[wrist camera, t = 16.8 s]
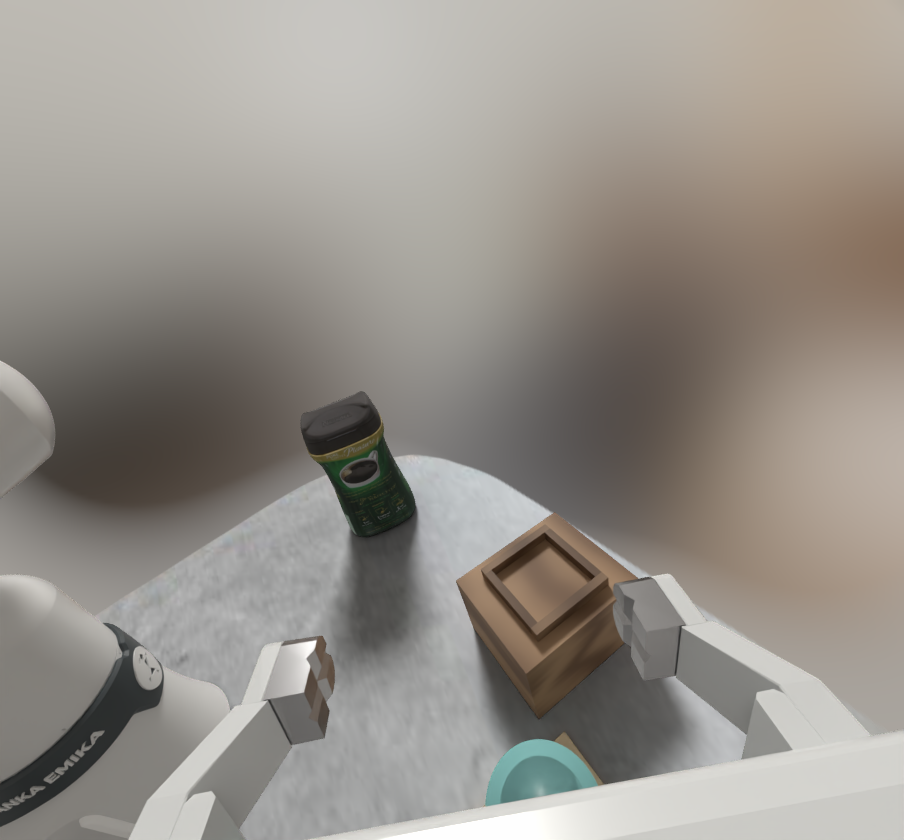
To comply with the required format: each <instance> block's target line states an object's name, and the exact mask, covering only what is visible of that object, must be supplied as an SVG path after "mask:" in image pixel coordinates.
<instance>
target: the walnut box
mask: <svg viewBox="0 0 904 840" xmlns="http://www.w3.org/2000/svg"><path fill="white" fill-rule="evenodd" d="M635 579H638V578H637V577H636V576H635V575H633V574H632V573H631V572H630V571H628V570H627V569H626V568H625V567H623V566H622V565H621V564H619V563H618V562H617V561H616V560H614V559H613V558H612V557H611V556H609V555H608V554H607V553H606V552H604V551H603V550H602V549H601V548H599V547H598V546H597V545H595V544H594V543H593V542H592V541H590V540H589V539H588V538H587V537H585V536H584V535H583V534H582V533H580V532H579V531H578V530H577V529H575V528H574V527H573V526H571V525H570V524H569V523H568V522H566V521H565V520H564V519H563V518H561V517H560V516H559V515H558V514H556V513H555V512H554V513H553V514H551V515H550V516H549V517H547V518H546V519H544V520H543V521H541V522H540V523H538V524H537V525H536V526H534V527H533V528H531V529H530V530H528V531H527V532H526V533H524V534H523V535H521V536H520V537H518V538H517V539H515V540H514V541H513V542H511V543H510V544H508V545H507V546H505V547H504V548H503V549H501V550H500V551H498V552H497V553H495V554H494V555H492V556H491V557H490V558H488V559H487V560H485V561H484V562H482V563H481V564H480V565H478V566H477V567H475V568H474V569H472V570H471V571H469V572H468V573H467V574H465V575H464V576H462V577H461V578H459V579H458V580H457V581H456V583H457V585H458V588H459V590H460V593H461V596H462V598H463V601H464V604H465V606H466V609H467V612H468V614H469V617H470V620H471V622H472V625H473V628H474V629H475V630H476V632H477V633H478V635H479V636H480V638H481V639H482V640H483V642H484V643H485V645H486V646H487V647H488V649H489V650H490V652H491V653H492V654H493V656H494V657H495V659H496V660H497V661H498V663H499V664H500V666H501V667H502V668H503V670H504V671H505V673H506V674H507V675H508V677H509V678H510V680H511V681H512V682H513V684H514V685H515V687H516V688H517V689H518V691H519V692H520V694H521V695H522V696H523V698H524V699H525V701H526V702H527V703H528V705H529V706H530V708H531V709H532V711H533V712H534V713H535V715H536V716H537V718H538V719H540V718H541V717H542V716H543V715H544V714H546V713H547V712H548V711H549V710H550V709H551V708H552V707H553V706H555V705H556V704H557V703H558V702H559V701H560V700H561V699H562V698H564V697H565V696H566V695H567V694H568V693H569V692H570V691H571V690H573V689H574V688H575V687H576V686H577V685H578V684H579V683H580V682H582V681H583V680H584V679H585V678H586V677H587V676H588V675H589V674H590V673H592V672H593V671H594V670H595V669H596V668H597V667H598V666H599V665H601V664H602V663H603V662H604V661H605V660H606V659H607V658H608V657H610V656H611V655H612V654H613V653H614V652H615V651H616V650H617V649H619V648H620V647H621V646H622V645H623V644H624V642H623V641H622V639H621V637H620V635H619V632H618V630H617V627H616V625H615V620H614V616H613V605H614V603H615V602H616V601H617V600H616V598H615V596H614V594H613V586H614V584H615V583H619V582H624V581H629V580H635Z"/></svg>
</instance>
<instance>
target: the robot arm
mask: <svg viewBox="0 0 904 840" xmlns="http://www.w3.org/2000/svg"><path fill="white" fill-rule="evenodd" d="M54 442H55V426H54V421H53V417H52V414H51V411H50V409H49V407H48V404H47V403H46V401H45V399H44V398H43V397H42V395H41V393H40V392H39V391H38V390H37V388H36V387H35V386H34V385H33V384H32V383H31V382H30V381H29V380H28V379H27V378H26V377H24V376H23V375H22V374H21V373H19V372H18V371H16V370H15V369H14V368H12V367H11V366H9V365H7V364H5V363H4V362H2V361H0V499H1V498H3V496H5V495H6V494H7V493H8V492H10V491H11V490H12V489H13V488H14V487H16V486H17V485H18V484H19V483H20V482H22V481H23V480H24V479H25V478H26V477H27V476H28V475H30V474H31V473H32V472H33V471H34V470H35V469H36V468H37V467H39V466H40V465H41V464H42V463H43V462H44V461H45V460H47V459H48V458H49V457H50V456H51V455H52V452H53V448H54ZM613 594H614V596H615V598H616V600H617V601H616V602H615V603H614V605H613V616H614V620H615V625H616V627H617V630H618V632H619V635H620V637H621V639H622V641H623V642H624V643H626V644H627V645H629V646H630V647H631V658H632V660H633V662H634V664H635V666H636V668H637V669H638V671H639V673H640V675H641V677H642V679H643V681H645V680H652V679H658V678H665V677H672V676H676V678H677V679H678V680H680V681H681V682H682V683H683V684H685V685H686V686H687V687H688V688H689V689H691V690H692V691H693V692H694V693H696V694H697V695H698V696H699V697H701V698H702V699H703V700H704V701H706V702H707V703H708V704H709V705H710V706H712V707H713V708H714V709H715V710H717V711H718V712H719V713H720V714H722V715H723V716H724V717H725V718H727V719H728V720H729V721H730V722H731V723H733V724H734V725H735V726H736V727H738V728H739V729H740V730H741V731H743V732H744V733H745V734H746V735H747V737H746V741H745V746H744V750H743V754H742V759H741V760H736V761H731V762H725V763H720V764H715V765H709V766H704V767H698V768H693V769H687V770H682V771H677V772H671V773H666V774H660V775H655V776H650V777H644V778H639V779H633V780H628V781H622V782H617V783H611V784H606V785H600V786H595V787H590V788H584V789H579V790H573V791H568V792H562V793H557V794H551V795H546V796H540V797H535V798H530V799H524V800H519V801H513V802H508V803H502V804H497V805H492V806H486V807H481V808H475V809H470V810H465V811H459V812H454V813H448V814H443V815H438V816H432V817H427V818H421V819H416V820H411V821H405V822H400V823H394V824H389V825H383V826H378V827H373V828H367V829H362V830H356V831H351V832H345V833H340V834H335V835H329V836H324V837H318V838H313V839H307V840H904V730H899V731H893V732H888V733H883V734H877V735H872V736H871V735H870V734H869V733H868V732H867V731H866V729H865V728H864V727H863V726H862V725H861V724H860V723H859V722H858V721H857V720H856V719H855V717H854V716H853V715H852V714H851V713H850V712H849V711H848V710H847V709H846V708H845V707H844V705H843V704H842V703H841V702H840V701H839V700H838V699H837V698H836V697H835V696H834V695H833V693H832V692H831V691H830V690H829V689H828V688H827V687H826V686H825V685H824V684H823V683H822V682H821V681H820V679H818V678H816V677H814V676H812V675H811V674H809V673H807V672H805V671H803V670H802V669H800V668H798V667H796V666H794V665H792V664H791V663H789V662H787V661H785V660H783V659H782V658H780V657H778V656H776V655H774V654H773V653H771V652H769V651H767V650H765V649H763V648H762V647H760V646H758V645H756V644H754V643H753V642H751V641H749V640H747V639H745V638H743V637H742V636H740V635H738V634H736V633H734V632H733V631H731V630H729V629H727V628H725V627H723V626H722V625H720V624H718V623H716V622H714V621H709V622H708V621H707V620H706V619H705V618H704V616H703V615H702V614H701V612H700V611H699V610H698V608H697V607H696V606H695V605H694V603H693V602H692V601H691V599H690V598H689V597H688V596H687V594H686V593H685V592H684V590H683V589H682V588H681V587H680V585H679V584H678V583H677V581H676V580H675V579H674V578H673V576H671V575H670V574H663V575H658V576H652V577H645V578H640V579H635V580H629V581H624V582H619V583H615V584H614V586H613ZM325 649H326V642H325V640H324V638H323V636H316V637H309V638H303V639H296V640H289V641H284V642H277V643H271V644H266V645H265V646H264V648H263V649H262V650H261V653H260V655H259V658H258V661H257V663H256V666H255V669H254V671H253V674H252V677H251V679H250V682H249V685H248V687H247V690H246V693H245V695H244V698H243V701H242V703H241V705H239V706H235V707H234V708H233V709H232V710H231V711H230V708H229V703H228V701H227V698H226V696H225V694H224V693H223V692H222V690H221V689H220V688H219V687H217V686H216V685H214V684H212V683H209V682H205V681H199V680H196V679H192V678H189V677H186V676H183V675H181V674H178V673H176V672H174V671H172V670H170V669H168V668H166V667H164V666H163V665H161V663H160V662H159V661H158V660H157V659H156V658H155V657H154V656H153V655H152V654H151V653H150V652H149V651H148V650H147V649H146V648H145V647H144V646H142V645H141V644H140V643H138V642H137V641H136V640H135V639H133V638H132V637H131V636H129V635H128V634H127V633H125V632H124V631H122V630H121V629H120V628H118V627H117V626H115V625H113V624H109V623H102V622H100V621H99V620H98V619H96V618H95V617H94V616H93V615H91V614H90V613H89V612H88V611H86V610H85V609H84V608H83V607H81V606H80V605H79V604H77V603H76V602H75V601H74V600H72V599H71V598H70V597H68V596H67V595H66V594H65V593H64V592H62V591H61V590H60V589H59V588H57V587H56V586H55V585H53V584H52V583H50V582H49V581H46V580H44V579H41V578H38V577H34V576H28V575H1V576H0V840H246V838H245V837H244V836H243V834H242V833H241V831H240V830H239V828H240V827H241V825H242V824H243V822H244V821H245V819H246V817H247V816H248V814H249V813H250V811H251V810H252V808H253V807H254V805H255V804H256V802H257V800H258V799H259V797H260V796H261V794H262V793H263V791H264V790H265V788H266V787H267V785H268V783H269V782H270V780H271V779H272V777H273V776H274V774H275V773H276V771H277V770H278V768H279V766H280V765H281V763H282V762H283V760H284V759H285V757H286V756H287V754H288V753H289V751H290V749H291V748H292V746H291V745H295V744H300V743H304V742H309V741H314V740H318V739H323V738H325V733H326V728H327V722H328V717H329V708H328V706H327V703H326V702H327V700H328V699H329V698H330V696H331V695H332V694H333V689H334V683H335V670H334V664H333V660H332V657H331V655H329V654H328V653H326V652H325Z"/></svg>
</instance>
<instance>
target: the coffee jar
mask: <svg viewBox="0 0 904 840" xmlns="http://www.w3.org/2000/svg"><path fill="white" fill-rule="evenodd" d="M301 431H302V435H303V438H304V441H305V444H306V446H307V450H308V452H309V454H310V455H311V457H312V458H313V459H314V460H315V461H316V462H317V463H319V464H320V465H321V466H322V467H323V469H324V470H325V472H326V473H327V475H328V477H329V479H330V481H331V483H332V485H333V487H334V490H335V492H336V494H337V497H338V499H339V502H340V504H341V507H342V510H343V512H344V514H345V517H346V519H347V521H348V523H349V525H350V527H351V529H352V531H353V532H354V533H355V534H356V535H358V536H362V537H367V536H372V535H375V534H378V533H380V532H383V531H385V530H388V529H390V528H392V527H394V526H396V525H398V524H400V523H402V522H404V521H405V520H407V519H408V518H409V517H410V516H411V515H412V513H413V512H414V509H415V499H414V496H413V493H412V491H411V489H410V487H409V485H408V483H407V481H406V479H405V478H404V476H403V474H402V472H401V471H400V469H399V467H398V466H397V464H396V462H395V460H394V458H393V457H392V455H391V453H390V451H389V448H388V446H387V444H386V442H385V439H384V437H383V432H384V426H383V422H382V419H381V416H380V414H379V412H378V411H377V409H376V408H375V406H374V405H373V403H372V402H371V400H370V399H369V397H368V396H367V394H366V393H365V392H362V391H360V392H358V393H357V394H355V395H352V396H349V397H346V398H344V399H341V400H338V401H336V402H333V403H331V404H328V405H326V406H324V407H321V408H318V409H316V410H313V411H311V412H307V413H303V414H302V416H301Z"/></svg>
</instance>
